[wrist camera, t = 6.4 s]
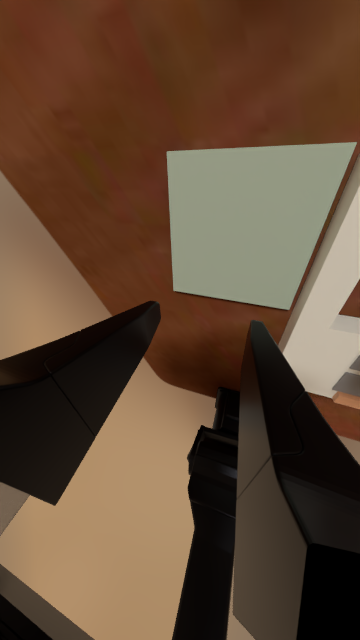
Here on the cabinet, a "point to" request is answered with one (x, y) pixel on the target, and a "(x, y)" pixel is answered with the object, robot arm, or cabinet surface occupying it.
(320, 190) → the mat
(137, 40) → the cabinet surface
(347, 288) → the cream rectangular frame
